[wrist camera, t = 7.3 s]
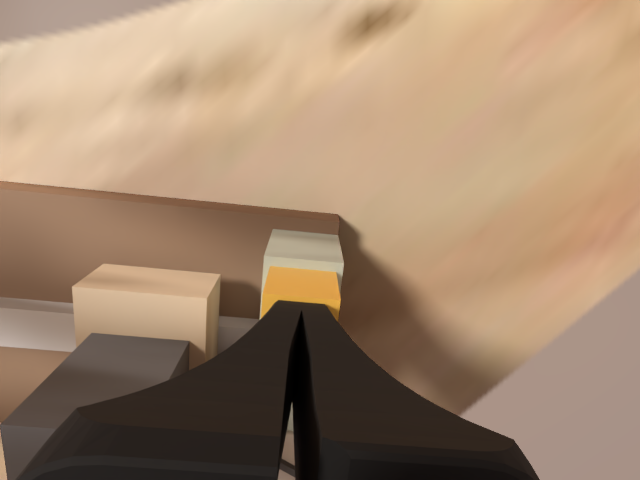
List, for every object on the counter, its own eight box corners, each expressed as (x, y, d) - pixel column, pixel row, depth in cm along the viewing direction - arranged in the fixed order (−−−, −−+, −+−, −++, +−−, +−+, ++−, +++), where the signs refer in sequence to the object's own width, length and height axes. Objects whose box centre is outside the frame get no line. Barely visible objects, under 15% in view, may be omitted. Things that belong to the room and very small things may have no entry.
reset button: (327, 342, 13) (330, 380, 11) (264, 336, 13) (256, 374, 11) (336, 271, 13) (340, 300, 11) (270, 266, 13) (262, 293, 11)
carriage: (215, 417, 16) (162, 581, 11) (110, 409, 16) (-1, 572, 10) (220, 274, 15) (162, 378, 9) (103, 263, 14) (-34, 363, 9)
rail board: (312, 424, 19) (312, 519, 15) (-144, 391, 18) (-291, 481, 14) (337, 214, 16) (347, 252, 12) (-201, 161, 16) (-410, 181, 11)
